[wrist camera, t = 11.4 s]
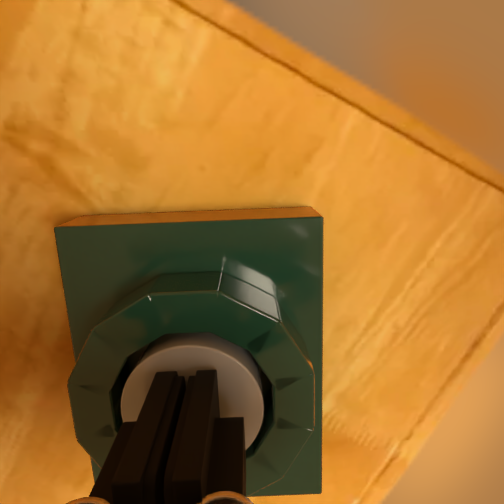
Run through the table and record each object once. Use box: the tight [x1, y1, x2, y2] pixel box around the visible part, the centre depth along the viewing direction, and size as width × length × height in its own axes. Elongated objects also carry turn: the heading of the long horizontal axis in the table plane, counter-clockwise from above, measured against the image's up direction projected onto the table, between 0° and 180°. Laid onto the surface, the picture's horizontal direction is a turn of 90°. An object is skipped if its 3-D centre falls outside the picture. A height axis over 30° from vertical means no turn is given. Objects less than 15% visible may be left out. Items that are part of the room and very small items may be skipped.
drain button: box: [121, 332, 264, 449], centre depth 12 cm, size 4×4×2 cm
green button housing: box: [54, 207, 323, 497], centre depth 13 cm, size 10×8×4 cm
